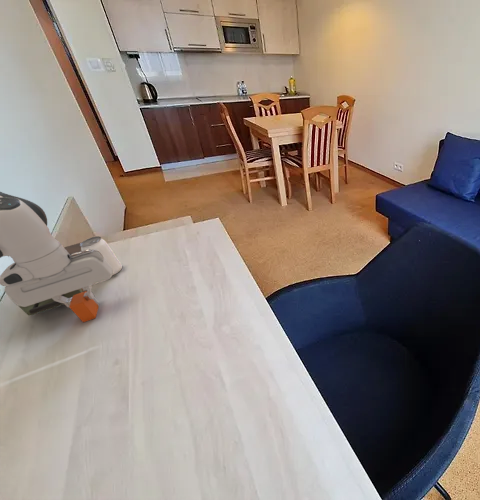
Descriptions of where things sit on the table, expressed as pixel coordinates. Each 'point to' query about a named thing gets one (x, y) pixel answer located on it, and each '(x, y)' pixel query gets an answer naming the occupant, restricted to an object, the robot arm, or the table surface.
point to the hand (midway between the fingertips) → (81, 301)
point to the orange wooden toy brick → (84, 307)
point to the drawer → (47, 304)
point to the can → (102, 252)
